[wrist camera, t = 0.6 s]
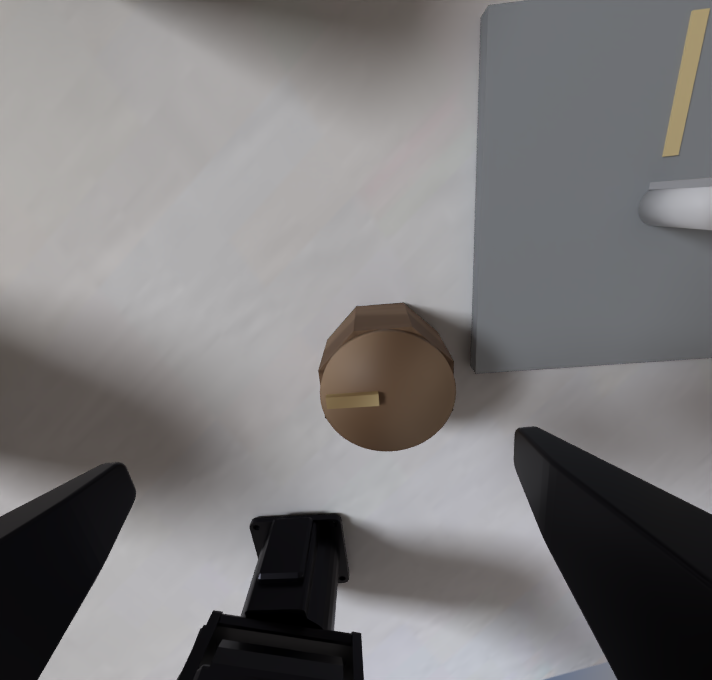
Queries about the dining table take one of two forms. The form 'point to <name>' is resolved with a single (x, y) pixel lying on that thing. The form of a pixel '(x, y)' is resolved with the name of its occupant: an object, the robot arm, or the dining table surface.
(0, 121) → the dining table surface
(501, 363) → the base plate
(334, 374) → the knob
